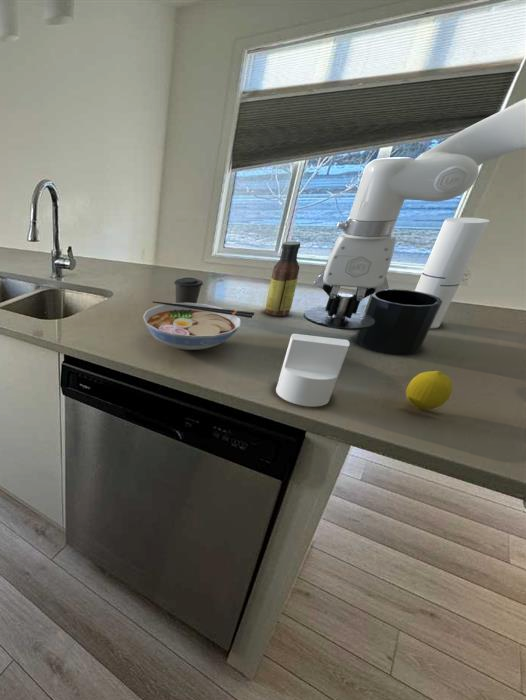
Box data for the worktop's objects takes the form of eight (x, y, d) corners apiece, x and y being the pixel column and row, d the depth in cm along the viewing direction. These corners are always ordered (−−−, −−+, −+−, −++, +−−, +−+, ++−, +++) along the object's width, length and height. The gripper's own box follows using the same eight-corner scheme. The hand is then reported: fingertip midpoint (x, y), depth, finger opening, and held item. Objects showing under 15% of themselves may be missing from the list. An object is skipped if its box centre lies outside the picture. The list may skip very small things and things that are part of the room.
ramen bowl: (121, 350, 104) (123, 321, 100) (157, 321, 119) (160, 294, 115) (224, 374, 90) (231, 341, 86) (251, 338, 105) (258, 308, 100)
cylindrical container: (404, 316, 108) (447, 216, 96) (441, 321, 104) (490, 218, 91) (399, 324, 104) (442, 221, 92) (437, 330, 100) (488, 223, 87)
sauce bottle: (288, 310, 118) (307, 240, 108) (289, 318, 113) (309, 245, 103) (263, 308, 121) (279, 239, 111) (263, 316, 116) (280, 244, 106)
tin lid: (369, 314, 92) (379, 288, 89) (377, 336, 83) (388, 308, 80) (302, 308, 98) (309, 284, 95) (303, 328, 89) (311, 301, 86)
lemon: (443, 409, 73) (464, 371, 69) (434, 421, 71) (455, 382, 67) (404, 397, 77) (422, 360, 73) (394, 408, 75) (412, 370, 71)
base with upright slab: (274, 400, 80) (290, 345, 74) (277, 379, 86) (291, 327, 80) (330, 410, 76) (351, 353, 70) (328, 388, 82) (347, 334, 76)
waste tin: (413, 337, 97) (434, 291, 92) (424, 358, 89) (448, 308, 83) (352, 331, 103) (368, 287, 97) (357, 350, 95) (375, 303, 89)
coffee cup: (196, 317, 119) (201, 284, 114) (167, 314, 123) (171, 281, 118) (201, 308, 125) (206, 276, 120) (174, 305, 129) (178, 274, 124)
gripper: (320, 231, 82) (295, 316, 91) (427, 232, 74) (388, 326, 83) (319, 224, 87) (295, 305, 96) (418, 225, 79) (383, 313, 89)
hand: (339, 314), depth 90 cm, fingers closed on tin lid, 2 cm apart
